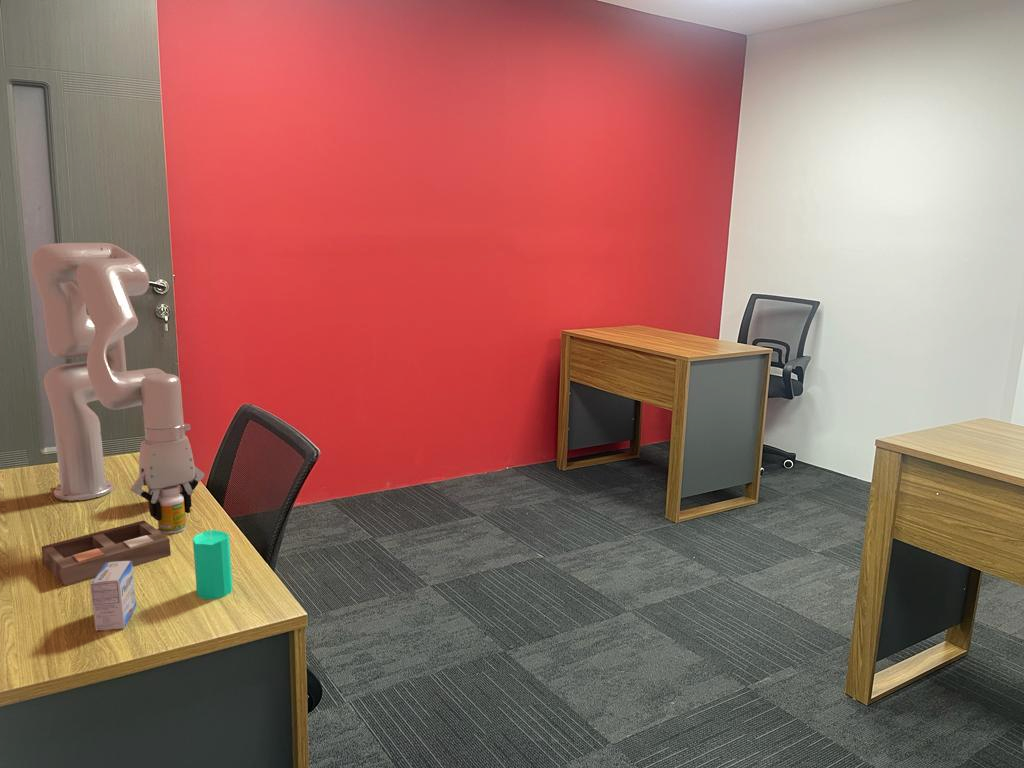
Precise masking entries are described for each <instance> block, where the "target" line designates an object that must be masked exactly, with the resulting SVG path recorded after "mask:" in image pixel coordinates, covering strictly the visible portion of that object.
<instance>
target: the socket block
mask: <svg viewBox="0 0 1024 768" xmlns="http://www.w3.org/2000/svg"><path fill="white" fill-rule="evenodd" d="M170 540H171V539H170V538H169V537H168V536H166V534H163V533H161V532H160V531H159V529H157V528H155V527H154V526H152V525H151V524H150V523H148V522H147V521H145V520H141V521H136V522H132V523H129V524H128V523H127V524H124V525H120V526H116V527H112V528H108V529H104V530H100V531H98V532H92V533H89V534H85V535H81V536H76V537H73V538H69V539H64V540H61V541H58V542H57V541H56V542H54V543H49V544H46V545H41V557H42V563H43V565H44V566H45V567H46V568H47V569H48V570H49V571H50V572H51V573H52V574H53V575H54V576H55V578H57V580H58V581H59V582H60V583H61V584H62V585H63V586H64V587H67V586H70V585H73V584H77V583H81V582H85V581H87V580H91V579H95V577H96V576H97V574H98V573H99V572H100V570H101V569H102V567H103V566H104V564H105V563H108V562H116V561H132V566H133V567H136V566H139V565H141V564H142V565H143V564H146V563H148V562H153V561H156V560H160V559H162V558H165V557H166V558H167V557H169V556H171V553H172V552H171V543H170V542H171V541H170Z"/></svg>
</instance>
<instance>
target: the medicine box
mask: <svg viewBox="0 0 1024 768" xmlns="http://www.w3.org/2000/svg"><path fill="white" fill-rule="evenodd" d="M133 567H134V566H132V561H116V562H108V563H105V564H104V566H103V567H102V569H101V570H100V572H99V573H98V574H97V576H96V577H94V578H93V579H92V582H91V583H90V585H89V586H90V595H91V601H92V603H91V604H92V611H93V618H94V619H93V620H94V627H95V631H96V632H102V631H101V630H106V631H113V630H112V629H116V630H123V629H122V628H124V629H125V627H126V626H127V624H128V622H129V620H130V619H131V616H132V615H133V613H134V611H135V609H136V608H137V597H136V588H135V577H134V568H133ZM98 630H100V631H98Z"/></svg>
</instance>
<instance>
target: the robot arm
mask: <svg viewBox="0 0 1024 768" xmlns="http://www.w3.org/2000/svg"><path fill="white" fill-rule="evenodd" d="M30 263H31V265H30V266H31V273H32V277H33V279H34V282H35V285H36V286H37V289H38V292H39V293H40V297H41V300H42V306H43V307H42V308H43V317H44V325H45V326H44V327H45V335H46V340H47V347H48V349H49V352H50V354H51V355H53V356H54V357H56V358H58V359H76V358H83V357H87V358H86V361H80V362H79V361H78V362H71V363H66V364H60V365H57V366H54V367H53V368H52V367H51V369H49V370H48V371H47V372H46V374H45V376H44V378H43V387H44V390H45V394H46V397H47V399H48V403H49V406H50V410H51V415H52V422H53V430H54V431H53V432H54V440H55V447H56V456H57V465H58V466H57V467H58V476H59V484H60V486H58V487H57V488H56V489H54V491H53V496H55V497H56V498H55V497H54V498H55V499H57V498H58V499H57V500H59V499H61V500H60V501H64V500H68V501H67V502H75V501H74V500H79V501H85V500H86V499H87V500H91V499H96V497H97V498H100V497H103V496H105V495H107V494H109V493H111V492H112V491H113V490H114V483H113V482H112V481H110V480H107V479H106V472H105V471H106V470H105V462H104V451H103V440H102V432H101V422H100V419H99V416H98V415H97V414H96V413H95V411H93V409H91V408H90V407H89V406H88V403H91V402H94V401H99V402H100V404H101V405H102V406H103V407H104V408H106V409H109V410H111V411H115V410H116V411H117V410H123V409H128V408H133V407H139V406H142V415H143V426H144V427H143V428H144V436H145V437H144V438H145V440H142V441H141V442H140V446H139V447H140V449H139V458H138V459H139V460H138V461H139V464H138V467H139V468H138V469H139V470H138V471H139V473H138V475H139V477H138V478H137V479H136V480H135V482H134V483H133V485H132V486H131V487H130V491H131V492H133V493H134V494H136V495H138V496H140V497H142V498H143V499H145V500H147V501H148V504H149V515H150V517H152V518H153V519H154V520H155V521H157V522H158V521H159V520H161V507H160V502H158V496H159V492H160V489H162V488H166V487H171V486H175V485H180V487H181V489H182V492H180V494H182V495H183V497H184V504H185V514H186V513H187V514H190V513H191V508H192V494H193V493H194V490H195V489H196V487H197V486H198V484H199V483H200V482H201V480H203V479H204V477H205V475H206V474H205V472H203V471H202V470H200V468H198V467H197V466H196V465H195V462H194V455H193V452H192V447H191V444H190V440H189V437H188V436H187V435H186V432H187V431H190V430H191V424H190V423H185V422H184V410H183V408H184V407H183V398H182V396H183V395H182V384H181V383H182V382H181V380H180V377H179V376H177V375H176V374H172V373H166V372H165V371H163V370H162V369H161V368H158V367H157V368H156V367H151V368H149V367H147V368H142V369H135V370H134V369H133V370H127V362H126V360H127V359H126V350H125V347H126V346H125V340H124V338H125V337H126V336H128V335H129V334H131V333H132V332H134V330H136V329H137V327H138V324H139V319H138V317H137V315H136V312H135V309H134V307H133V304H132V303H131V299H130V297H134V296H142V295H144V294H145V293H147V291H148V289H149V287H150V278H149V273H148V270H147V269H146V267H145V266H144V264H143V263H142V262H141V260H139V259H138V258H137V257H136V256H134V255H133V254H131V253H130V252H128V251H126V250H124V249H123V248H121V247H120V246H118V245H116V244H113V243H108V242H59V243H50V244H44V245H41V246H39V247H38V248H37V249H35V250H34V252H33V253H32V256H31V261H30ZM74 282H75V283H76V284H75V283H74ZM87 313H88V314H87ZM143 486H144V487H145V486H146V488H147V491H145V490H144V489H142V487H143Z"/></svg>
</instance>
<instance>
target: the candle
mask: <svg viewBox="0 0 1024 768" xmlns="http://www.w3.org/2000/svg"><path fill="white" fill-rule="evenodd" d="M230 541H231V540H230V535H229V534H228V533H227V532H224V531H221V530H215V529H212V528H209V530H206V531H202V532H200V533H198V534H195V535H194V537H193V539H192V546H193V558H194V559H193V561H194V571H195V583H196V584H195V585H196V595H197V596H198V598H200V599H205V600H216V599H221V598H223V597H226V596H227V594H228V595H229V594H230V593H232V591H233V588H234V587H233V574H232V573H233V572H232V559H231V543H230Z"/></svg>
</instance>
